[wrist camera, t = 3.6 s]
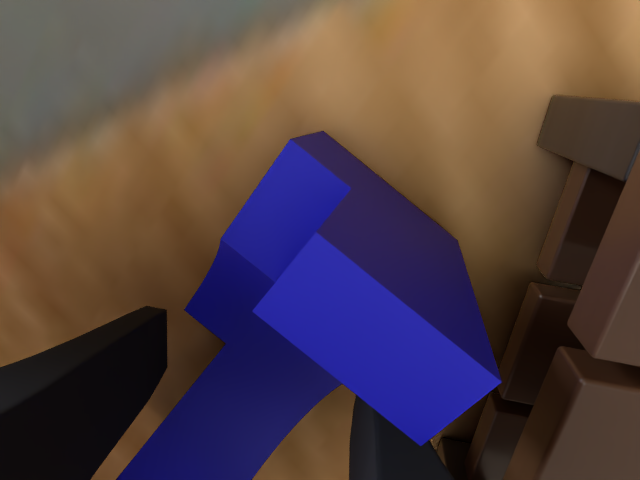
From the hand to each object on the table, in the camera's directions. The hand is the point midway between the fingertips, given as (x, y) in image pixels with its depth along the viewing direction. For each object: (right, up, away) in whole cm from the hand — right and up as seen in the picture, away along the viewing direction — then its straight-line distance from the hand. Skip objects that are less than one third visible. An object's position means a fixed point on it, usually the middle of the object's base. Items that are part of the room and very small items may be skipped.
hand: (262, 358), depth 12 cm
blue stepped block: (0, +1, +1) cm, 2 cm away
